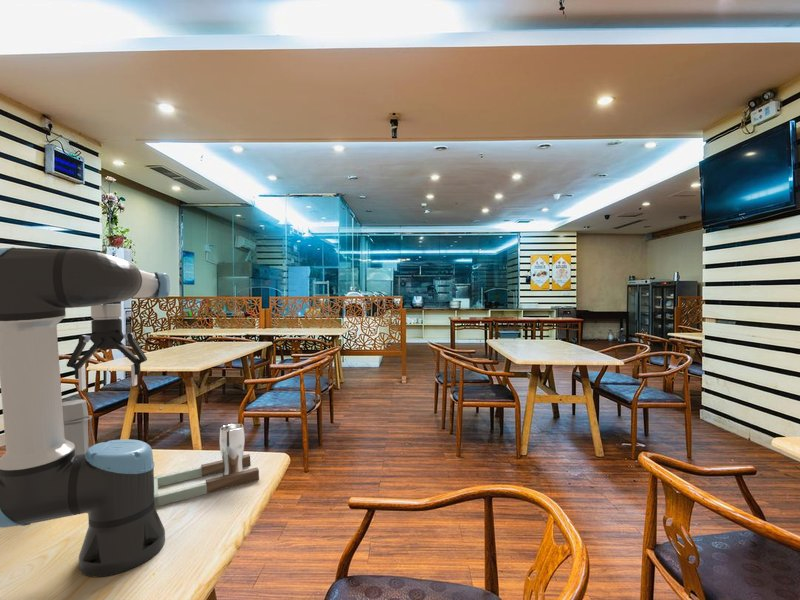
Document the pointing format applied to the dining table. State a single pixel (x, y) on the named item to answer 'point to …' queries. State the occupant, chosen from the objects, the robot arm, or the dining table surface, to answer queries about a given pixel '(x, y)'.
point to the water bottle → (77, 425)
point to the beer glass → (232, 447)
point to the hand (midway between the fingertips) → (109, 387)
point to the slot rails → (228, 479)
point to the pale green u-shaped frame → (179, 493)
